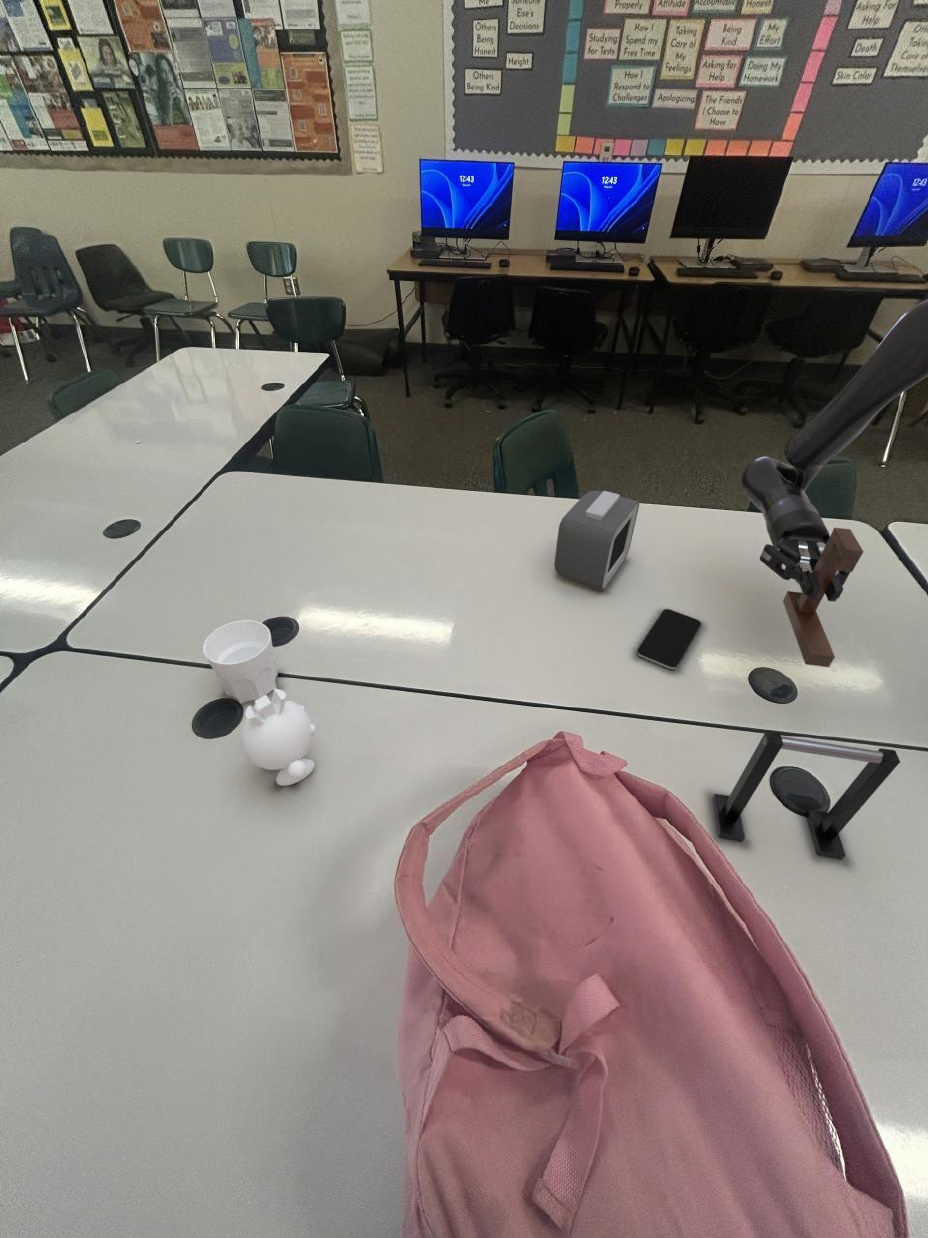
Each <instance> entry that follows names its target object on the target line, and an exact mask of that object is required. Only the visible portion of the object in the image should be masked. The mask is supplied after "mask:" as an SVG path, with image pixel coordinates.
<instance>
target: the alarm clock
mask: <svg viewBox="0 0 928 1238" xmlns="http://www.w3.org/2000/svg"><path fill="white" fill-rule="evenodd" d="M639 507H640V501H638V500H635V499H632V498H627V497H624V496H621V495H620V494H619V493H615V492H611V491H607V490H603V491H602V490H601V491H600V490H590V491H588V492H586V493H585V494H583V496H582V497H580V498H579V500H577V502H576V503H575V504H574V505H573V506H572V507H571V508H570V509H569V510H568V511H567V512H566V514H565V515H564V516H563V517H562V519H561V521H560V523H559V525H558V529H557V530H558V531H557V538H556V539H557V540H556V548H555V556H554V562H553V567H554V570H555V572H556V573H557V574H558V575H559V576H560V577H562V578H563V579H566V580H570V581H572V582H575V583H577V584H581V585H584V586H586V587H590V588H593V589H596V590H599V591H602V592H604V591H605V590H606V588H607V587H608V586H609V585H610V583H611V581H612V580H613V578H614V577H615V575H616V574H617V573H618V572H619V570H620V568H622V566H623V564H624V563H625V561H626V559H627V556H628V554H629V551H630V548H631V544H632V539H633V535H634V531H635V526H636V521H637V517H638V512H639Z"/></svg>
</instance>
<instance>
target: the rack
mask: <svg viewBox="0 0 928 1238" xmlns="http://www.w3.org/2000/svg"><path fill="white" fill-rule="evenodd" d="M781 750H786V751H793V752H800V753H807V754H813V755H817V756H818V755H819V756H826V757H832V758H838V759H844V760H845V759H846V760H852V761H859V762H864V763H866V764H865V766H864V767H863V769H862V770H861V771H860V772H859V774H857V776H856V777H855V778H854V779H853V781H852V782H851V783H850V785H849V786H848V787H847V789H846V790H845V791H844V792H843V794H842V795H841V796H840V797H839V798H838V799H837V801H836V802H835V804H834V805H833V806H832V807H831V809H830V810H829V811H827V812H826V811H821V810H815V809H806V812H805V817H806V820H807V823H808V827H809V830H810V834H811V838H812V841H813V845H814V848H815V851H816V852H815V853H816V856H821V857H827V858H833V859H838V860H843V859H844V858H845V857H846V852H845V850H844V846H843V843H842V840H841V837H840V833H841V832H842V830H843V829H844V828H845V827H846V826H847V825H848V824H849V822H850V821H851V820H852V819H853V818H854V817H855V815H856V814H857V813H858V812H859V811H860V810H861V808H862V807H863V806H864V805H865V804H866V803H867V801H869V799H870V798H871V797H872V796H873V794H875V792H876V791H877V790H878V789H879V787H881V785H883V783H884V782H885V780H886V779H887V778H888V777H889V776H890V775H891V773H892V772H893V771H894V770H895V769H896V768H897V767H898V765H899V764H900V763H901V760H900V758H899V756H898V753H897V751H896V749H889V748H883V747H882V748H881V747H880V748H878V749H877V750H876V749H875V750H874V749H869V748H862V747H855V746H849V745H842V744H835V743H834V744H833V743H829V742H822V741H815V740H808V739H801V738H794V737H790V736H789V737H788V736H782V734H781V733H780V732H776V731H768V730H765V732H764V733H763V735H762V737H761V739H760V741H759V743H758V744H757V746H756V748H755V750H754V751H753V753H752V755H751V757H750V759H749V760H748V761H747V763H746V765H745V767H744V769H743V771H742V773H741V775H740V776H739V777H738V780H737V782H736V783H735V785H734V787H733V789H732V791H731V792H730V794H729V795H725V794H718V793H714V794H713V796H712V803H713V809H714V816H715V823H716V830H717V835H718V838H721V839H724V840H725V839H726V840H731V841H735V842H736V841H737V842H743V841H745V838H746V836H745V831H744V826H743V821H742V814H743V812H744V810H745V808H747V805H748V803H749V802H750V800H751V799H752V797H753V795H754V794H755V792H756V791H757V789H758V788H759V785H760V784H761V782H762V780H763V779H764V777H765V776H766V774H767V772H768V771H769V769H770V767H771V766H772V765H773V762H774V760H775V759H776V757H777V756H778V754H779V753H780V751H781Z"/></svg>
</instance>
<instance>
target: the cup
mask: <svg viewBox="0 0 928 1238" xmlns="http://www.w3.org/2000/svg"><path fill="white" fill-rule="evenodd" d="M272 639H273V638H272V634H271V631H270V628H268V626H267V625H266V624H264V623H262V622H260V621H256V620H252V619H251V620H250V619H243V620H236V621H232V622H229V623H226V624H223V625H222V626H220V627H218V628H216V629H215V630H213V631H212V632H211V633H210V634H209V635H208V636H207V638H206V639H205V641H204V642H203V647H202V651H203V655H204V657H205V658H206V659H207V662H208V664H209V666H210V667H211V669H212V671H213V672H214V674H215V675H216V678H217V679H218V681H219V684H220V685H221V686H222V688H223V690H224V692H225V694H226V696H230V697H233V698H234V699H236V700H237V701H238V702H239V704H243V703H245V702H251V701H256V700H258V699H259V698H261V697H263V696H265V695H268V694H270V692H272V691H274V689H278V688H277V684H276V683H277V682H276V678H277V677H278V675H279V672H278V668H277V664H276V659H275V653H274V647H273V646H274V645H273V641H272Z"/></svg>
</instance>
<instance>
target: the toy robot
mask: <svg viewBox="0 0 928 1238" xmlns="http://www.w3.org/2000/svg"><path fill="white" fill-rule="evenodd" d="M272 691H273V692H272V697H271V700H270V699H269V696H268V694H266V695H265V696H263V697H261V698H259V699H258V700H254V703H255V704H254V705H253V706H252V705H251V704H249V705H248V706H247V708H246V709H245V713H244V714H245V717H246V718H245V719H244V721H243V724H242V726H241V734H240V741H239V743H240V745H241V747H242V749H243V750H242V751H243V753H244V755H245V757H246V759H247V760H248V761H250V762H251V763H252V764H253V765H255V766H257V767H259V768H261V769H264V770H268V771H275V770H276V771H277V770H279V772H278V773H277V775H276V779H275V781H276V784H277V785H278V786H280V787H285V786H286V787H287V786H291V785H293V784H296V783H299V782H301V781H302V780H304V779H305V778H307V777H308V776H309V775H310V774H311V773H312V772H313V770H314V768H315V762H314V761H313V760H311V759H308V758H304V756H305V755H306V754H307V753H308V752H309V749H310V747H311V745H312V742H313V739H314V734H315V733H316V731H317V727H316V725H314V724H313V722H312V718H311V717H310V714H309V712H308V711H307V710H306V708H305V706H304V705H302V704H301V705H299V704H298V703H297V702H295V701H292V700H287V694H286V692H285V691H284V690H283V689H280V688H277V689H274V690H272Z"/></svg>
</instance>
